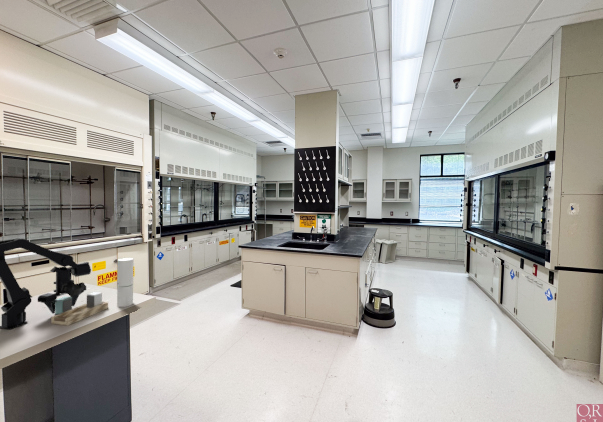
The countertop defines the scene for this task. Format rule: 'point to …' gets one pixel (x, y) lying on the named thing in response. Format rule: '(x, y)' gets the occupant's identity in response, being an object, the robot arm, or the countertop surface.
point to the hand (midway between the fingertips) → (63, 309)
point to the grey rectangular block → (94, 299)
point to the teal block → (63, 305)
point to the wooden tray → (77, 314)
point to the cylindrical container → (125, 282)
